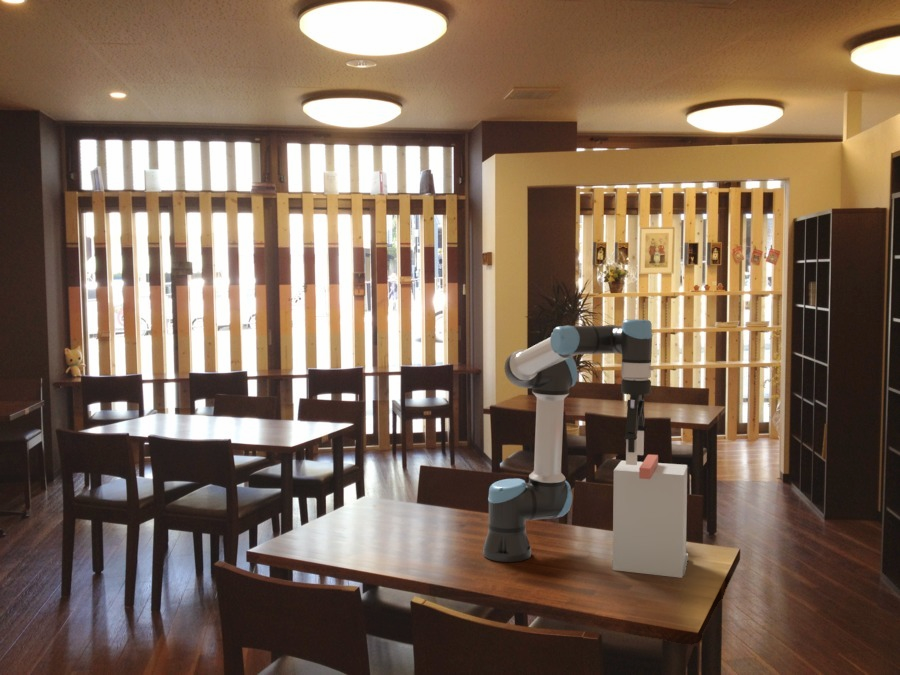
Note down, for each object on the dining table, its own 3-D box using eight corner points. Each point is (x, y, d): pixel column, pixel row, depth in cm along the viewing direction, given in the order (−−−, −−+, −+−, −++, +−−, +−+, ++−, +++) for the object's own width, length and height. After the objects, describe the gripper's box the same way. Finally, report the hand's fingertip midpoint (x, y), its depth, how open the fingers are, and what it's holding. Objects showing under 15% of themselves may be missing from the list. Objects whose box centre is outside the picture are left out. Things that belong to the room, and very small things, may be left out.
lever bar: (650, 479, 225) (650, 468, 225) (639, 478, 226) (639, 467, 226) (657, 464, 246) (658, 455, 246) (647, 464, 247) (648, 454, 247)
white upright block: (684, 578, 232) (685, 475, 231) (610, 569, 239) (611, 470, 238) (688, 559, 249) (689, 463, 248) (619, 552, 256) (620, 459, 255)
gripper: (645, 384, 195) (643, 470, 196) (656, 374, 219) (654, 451, 220) (614, 382, 198) (613, 467, 199) (628, 373, 221) (627, 449, 222)
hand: (634, 459), depth 209 cm, fingers open, 13 cm apart
